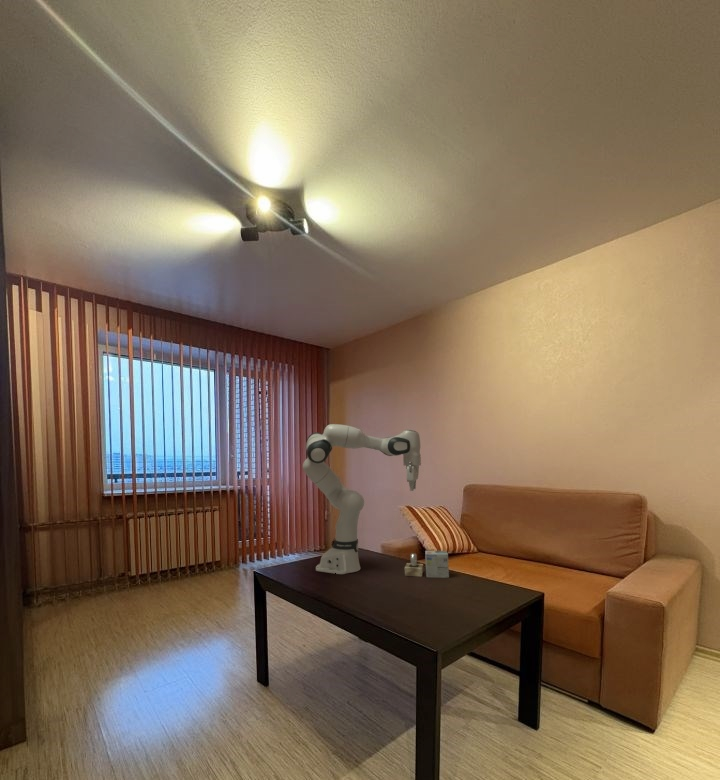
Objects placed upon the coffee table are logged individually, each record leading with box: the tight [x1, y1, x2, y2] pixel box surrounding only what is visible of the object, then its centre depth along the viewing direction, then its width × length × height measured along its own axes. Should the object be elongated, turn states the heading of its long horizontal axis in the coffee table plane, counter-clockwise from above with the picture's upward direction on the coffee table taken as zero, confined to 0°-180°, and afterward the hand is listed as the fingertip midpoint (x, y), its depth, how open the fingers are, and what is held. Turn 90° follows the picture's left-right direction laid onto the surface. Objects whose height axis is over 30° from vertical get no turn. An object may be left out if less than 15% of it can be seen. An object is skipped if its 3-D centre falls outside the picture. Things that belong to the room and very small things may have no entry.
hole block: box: [404, 562, 424, 577], centre depth 195 cm, size 8×8×4 cm
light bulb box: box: [424, 550, 450, 579], centre depth 192 cm, size 11×7×11 cm, turn 84°
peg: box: [409, 552, 418, 567], centre depth 195 cm, size 3×3×9 cm
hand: (412, 489), depth 203 cm, fingers open, 8 cm apart
